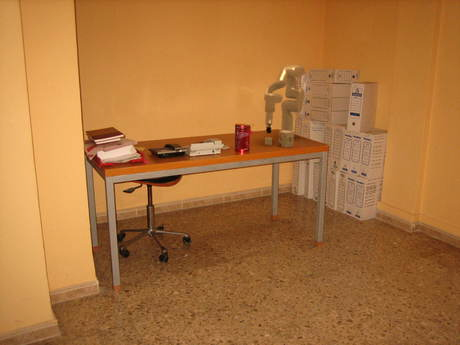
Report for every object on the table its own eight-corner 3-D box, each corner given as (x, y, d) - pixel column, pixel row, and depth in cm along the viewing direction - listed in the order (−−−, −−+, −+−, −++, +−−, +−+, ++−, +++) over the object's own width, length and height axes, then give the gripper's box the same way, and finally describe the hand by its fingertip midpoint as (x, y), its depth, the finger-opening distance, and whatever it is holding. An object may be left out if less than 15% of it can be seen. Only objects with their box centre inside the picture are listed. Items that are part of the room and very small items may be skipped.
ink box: (277, 146, 337) (278, 130, 334) (285, 144, 342) (286, 129, 339) (286, 148, 331) (286, 132, 327) (293, 146, 336) (294, 131, 333)
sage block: (265, 143, 345) (265, 137, 343) (271, 143, 345) (271, 137, 343) (265, 144, 340) (265, 138, 339) (271, 145, 340) (272, 138, 339)
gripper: (264, 108, 343) (263, 130, 348) (265, 111, 327) (264, 133, 331) (273, 109, 343) (272, 130, 347) (275, 111, 327) (274, 134, 331)
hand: (268, 132), depth 339 cm, fingers open, 9 cm apart
